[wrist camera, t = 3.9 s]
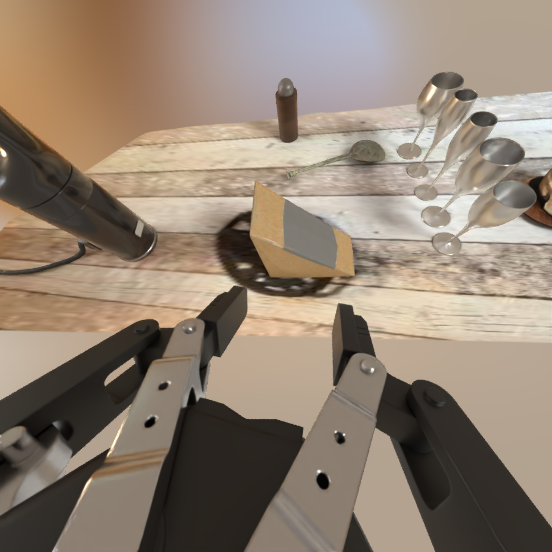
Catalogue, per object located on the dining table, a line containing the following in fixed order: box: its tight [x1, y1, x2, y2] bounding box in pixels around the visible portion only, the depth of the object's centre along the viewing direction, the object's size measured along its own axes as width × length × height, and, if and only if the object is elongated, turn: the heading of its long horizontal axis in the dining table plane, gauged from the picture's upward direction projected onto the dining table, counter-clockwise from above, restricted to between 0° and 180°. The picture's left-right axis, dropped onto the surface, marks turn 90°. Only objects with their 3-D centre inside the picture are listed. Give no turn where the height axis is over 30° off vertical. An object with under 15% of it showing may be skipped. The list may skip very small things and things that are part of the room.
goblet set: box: [398, 72, 536, 255], centre depth 32 cm, size 28×6×13 cm, turn 3°
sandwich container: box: [250, 181, 355, 278], centre depth 30 cm, size 9×15×15 cm, turn 88°
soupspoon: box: [286, 140, 385, 179], centre depth 43 cm, size 22×3×7 cm
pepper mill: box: [276, 78, 298, 143], centre depth 44 cm, size 4×4×11 cm
